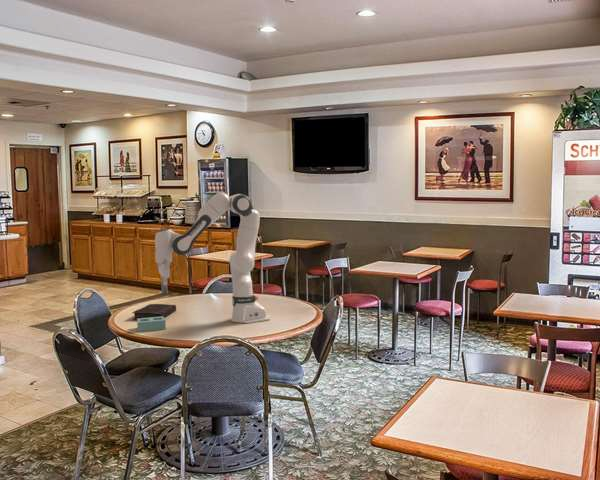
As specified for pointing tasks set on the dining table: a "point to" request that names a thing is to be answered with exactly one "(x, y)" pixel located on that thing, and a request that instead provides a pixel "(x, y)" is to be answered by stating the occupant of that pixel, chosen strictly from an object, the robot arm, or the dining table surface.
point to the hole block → (151, 324)
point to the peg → (164, 288)
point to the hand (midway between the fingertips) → (164, 284)
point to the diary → (154, 311)
